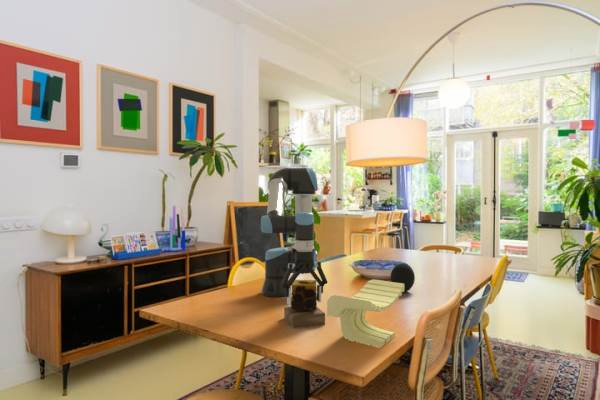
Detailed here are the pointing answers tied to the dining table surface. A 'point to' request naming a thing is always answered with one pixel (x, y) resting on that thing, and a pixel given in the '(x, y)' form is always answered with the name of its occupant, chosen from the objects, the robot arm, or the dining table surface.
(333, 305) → the slatted curved stool
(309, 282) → the candle
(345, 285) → the dining table surface
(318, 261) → the robot arm
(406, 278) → the decorative egg
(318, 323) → the walnut block
